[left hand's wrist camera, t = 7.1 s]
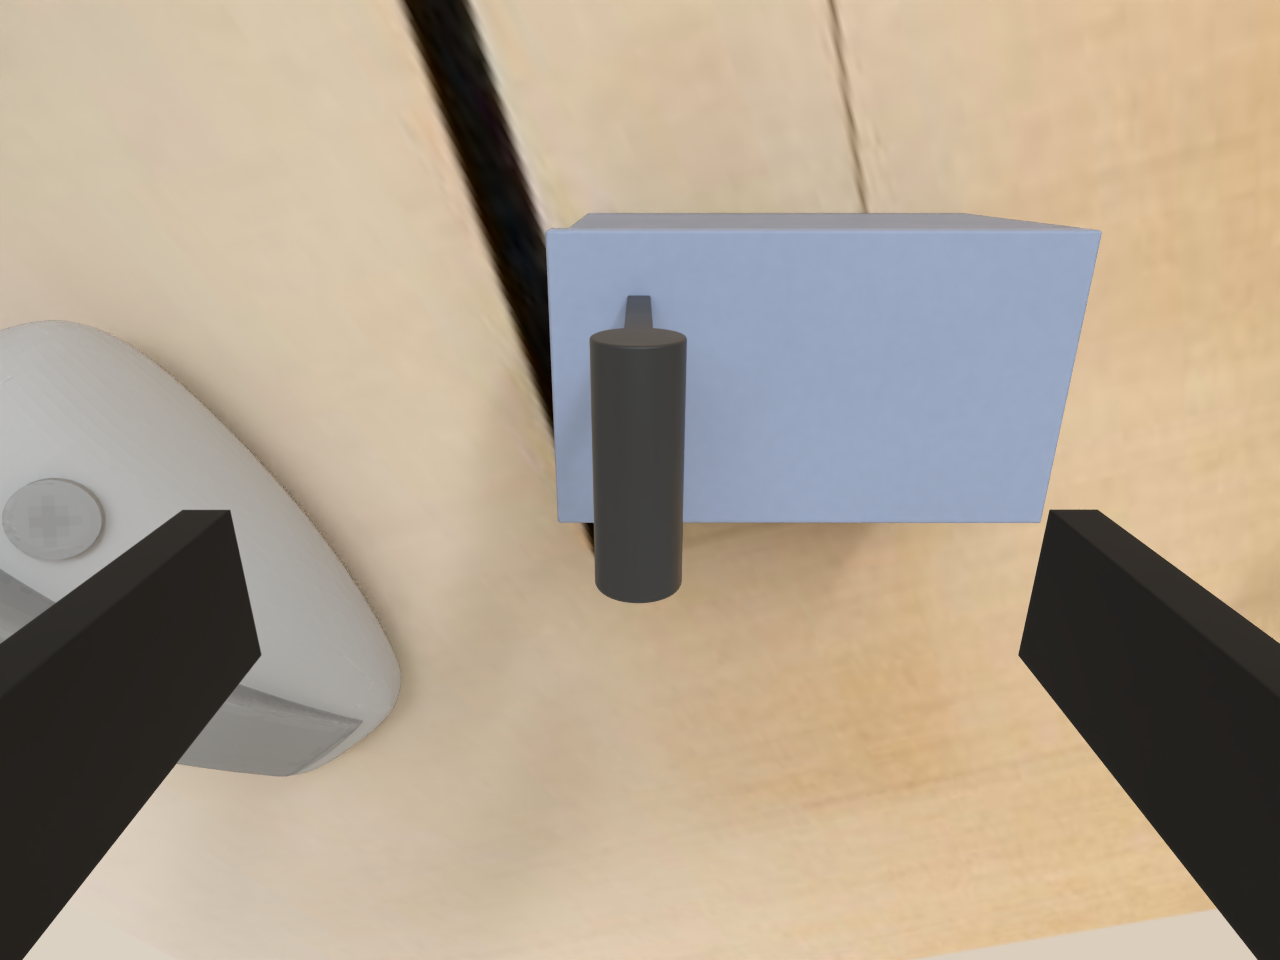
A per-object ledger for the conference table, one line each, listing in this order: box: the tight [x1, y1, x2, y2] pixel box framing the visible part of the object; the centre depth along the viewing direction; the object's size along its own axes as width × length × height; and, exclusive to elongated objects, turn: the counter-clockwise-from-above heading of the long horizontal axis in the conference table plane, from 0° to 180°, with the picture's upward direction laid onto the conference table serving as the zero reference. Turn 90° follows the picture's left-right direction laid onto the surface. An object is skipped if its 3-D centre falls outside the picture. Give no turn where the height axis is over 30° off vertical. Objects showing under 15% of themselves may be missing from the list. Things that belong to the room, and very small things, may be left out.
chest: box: [570, 213, 1078, 228], centre depth 30 cm, size 16×9×9 cm, turn 90°
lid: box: [546, 228, 1101, 603], centre depth 21 cm, size 16×9×9 cm, turn 90°
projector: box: [0, 321, 401, 776], centre depth 31 cm, size 22×23×15 cm
